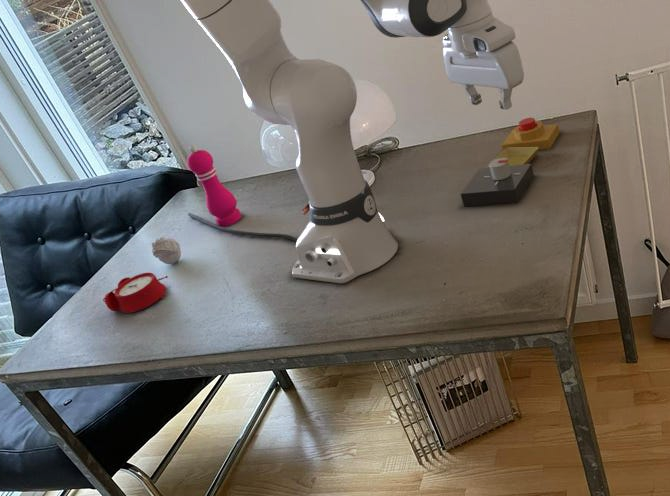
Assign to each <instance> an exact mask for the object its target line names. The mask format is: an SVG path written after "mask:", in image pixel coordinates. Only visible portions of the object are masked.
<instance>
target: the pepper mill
mask: <svg viewBox="0 0 670 496" xmlns="http://www.w3.org/2000/svg"><path fill="white" fill-rule="evenodd" d="M189 151H190V154H189V155H188V156H187V159H186V165H187V167H188V169H189V170H190V171H191V172H193V173H194V175H195V176H194V177H196V180H197V181H198V182H200V183H201V185H202V187H203V189H204V192H205V205H206V208H207V211H208V213H209V214H210V215H211V216H213V217H214V218H215V219H214V220H215V222H216V225H218V226H221V227H224V228H226V227H229V226H231V225H234V224H235V223H237V222H238V221H240V220H241V219H242V215H243V214H242V213H241V211H240V209H239V208H237V205H238V202H237V198H236V197H235V195H234V194H233V193H232V192H231V191H229V189H227V188H226V187H225V186H224V185H223V184H222V182H221V181H220V179H219V178H218V170H216V166H214V158H213V156H212V155H211V153H210V152H208V151H207V150H205V149H199V148H198V147H197V145H195V144H193V145H191V146H190V147H189Z"/></svg>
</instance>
